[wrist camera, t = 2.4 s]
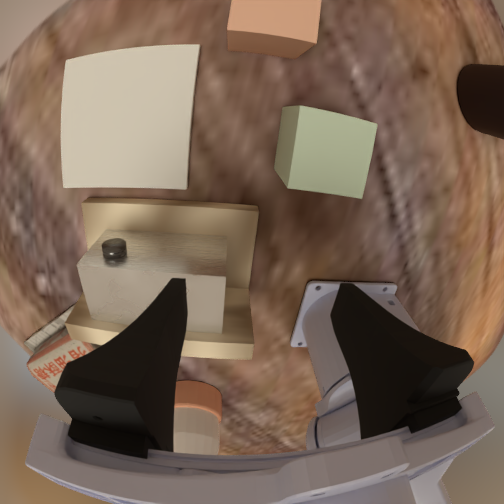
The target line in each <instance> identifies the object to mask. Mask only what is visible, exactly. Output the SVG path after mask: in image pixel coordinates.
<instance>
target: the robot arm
mask: <svg viewBox="0 0 504 504" xmlns="http://www.w3.org/2000/svg"><path fill="white" fill-rule="evenodd" d="M317 286H320V287H318V288H316V287H317ZM396 290H397V286H396V284H394V283H362V282H330V281H310V282H309V283H308V284H307V285H306V289H305V293H304V296H303V300H302V303H301V307H300V310H299V314H298V317H297V320H296V324H295V327H294V330H293V334H292V337H291V340H290V345H291V346H292V347H307V348H308V351H309V355H310V358H311V362H312V365H313V369H314V372H315V376H316V379H317V383H318V387H319V390H320V394H321V398H322V400H321V401H319V402H318V403H316V404H315V407H316V411H317V415H318V416H316V417H314V418H312V419H311V421H310V422H309V425H308V429H307V433H306V448H307V450H304V451H296V452H287V453H276V454H261V455H203V454H188V453H177V452H174V406H175V390H176V379H177V372H178V367H179V362H180V358H181V353H182V348H183V344H184V339H185V334H186V327H187V317H188V308H187V292H186V278H172V279H170V281H169V282H168V283H167V285H166V286H165V287H164V288H163V290H162V291H161V292H160V293H159V295H158V296H157V297H156V298H155V299H154V300H153V302H152V303H151V304H150V305H149V306H148V307H147V308H146V309H145V310H144V311H143V312H142V313H141V315H140V316H139V317H138V318H137V319H136V320H134V321H133V322H132V323H131V324H130V325H129V326H128V327H127V328H125V329H124V330H123V331H122V332H120V333H119V334H118V335H116V336H115V337H114V338H112V339H111V340H109V341H108V342H106V343H105V344H103V345H102V346H100V347H98V348H97V349H95V350H93V351H91V352H89V353H88V354H86V355H83V356H81V357H79V358H77V359H75V360H73V361H70V362H68V363H67V364H66V366H65V368H64V369H63V371H62V374H61V376H60V379H59V381H58V384H57V386H56V389H55V392H54V393H55V397H56V399H57V401H58V402H59V403H60V405H61V406H62V407H63V408H64V410H65V411H66V412H67V413H68V414H69V415H70V416H71V418H72V421H71V425H69V424H67V423H66V422H64V421H61V420H59V419H56V418H53V417H50V416H48V415H45V414H40V415H39V418H38V421H37V424H36V427H35V430H34V433H33V437H32V440H31V443H30V447H29V450H28V454H27V458H26V461H25V464H26V465H27V466H28V467H30V468H31V469H33V470H34V471H36V472H38V473H39V474H41V475H43V476H45V477H46V478H48V479H50V480H52V481H54V482H55V483H57V484H60V485H62V486H64V487H67V488H69V489H72V490H75V491H78V492H80V493H83V494H85V495H88V496H91V497H94V498H97V499H100V500H103V501H107V502H110V503H114V504H452V502H451V500H450V497H449V495H448V492H447V490H446V488H445V485H444V483H443V481H442V479H441V477H442V476H443V474H444V473H445V471H446V470H447V468H448V467H449V465H450V464H451V462H452V461H453V460H454V458H455V457H456V456H457V455H459V454H461V453H462V452H464V451H465V450H467V449H468V448H470V447H471V446H472V445H474V444H475V443H476V442H477V441H479V440H480V439H481V438H483V437H484V436H485V435H486V434H488V433H489V432H490V431H491V430H492V429H493V428H494V427H495V425H494V423H493V421H492V419H491V417H490V415H489V413H488V411H487V409H486V408H485V406H484V404H483V402H482V400H481V398H480V397H479V395H478V393H477V392H474V393H472V394H470V395H468V396H465V397H464V398H462V399H461V400H459V401H458V399H457V397H456V396H458V395H459V391H458V389H457V388H458V386H459V385H460V384H461V383H462V382H463V381H464V379H465V378H466V377H467V376H468V375H469V373H470V372H471V370H472V368H473V365H474V361H473V360H472V358H471V357H470V355H469V354H468V352H467V351H466V350H464V349H460V348H457V347H454V346H451V345H448V344H445V343H443V342H440V341H438V340H435V339H433V338H431V337H429V336H427V335H425V334H423V333H421V332H420V330H419V329H418V327H417V326H416V324H415V323H414V321H413V320H412V318H411V317H410V316H409V314H408V313H407V311H406V310H405V308H404V307H403V306H402V304H401V303H400V301H399V300H398V299H397V297H396V296H395V292H396ZM299 342H301V343H299Z"/></svg>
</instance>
